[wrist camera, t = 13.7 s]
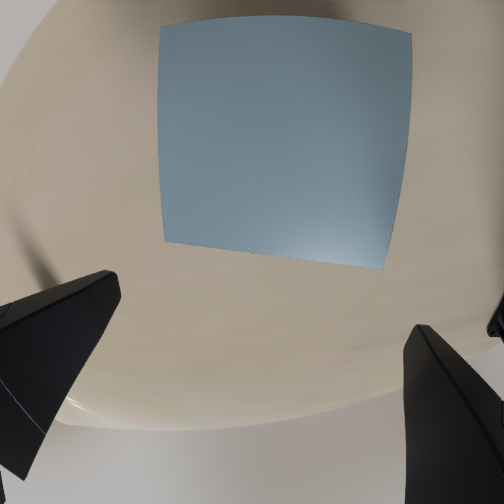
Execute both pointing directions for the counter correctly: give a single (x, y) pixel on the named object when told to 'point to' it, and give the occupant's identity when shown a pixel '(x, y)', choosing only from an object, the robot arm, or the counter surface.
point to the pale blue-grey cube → (283, 135)
